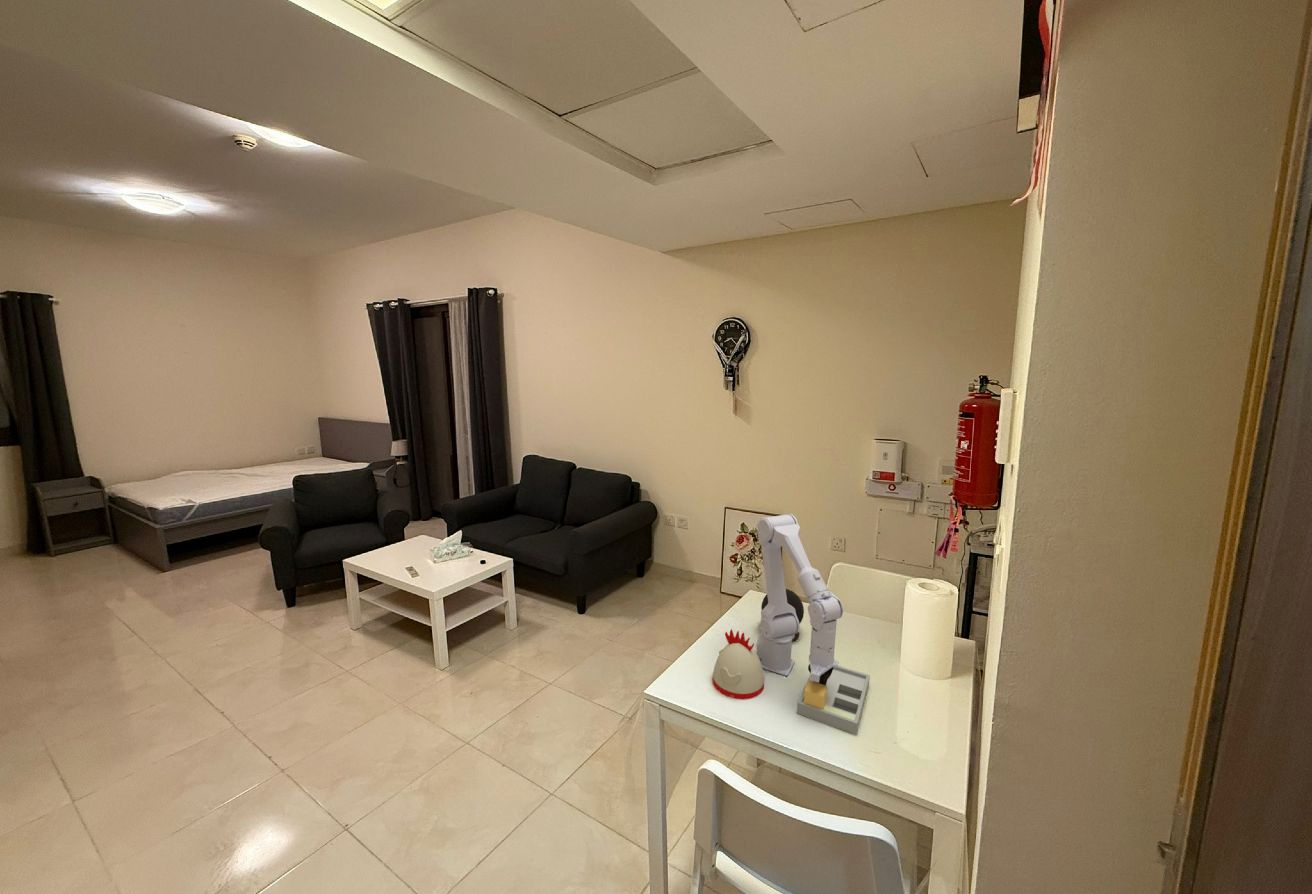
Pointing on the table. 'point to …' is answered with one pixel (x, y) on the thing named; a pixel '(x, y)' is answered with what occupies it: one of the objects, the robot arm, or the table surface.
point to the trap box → (840, 700)
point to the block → (815, 694)
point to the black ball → (794, 602)
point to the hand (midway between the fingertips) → (819, 691)
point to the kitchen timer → (738, 669)
